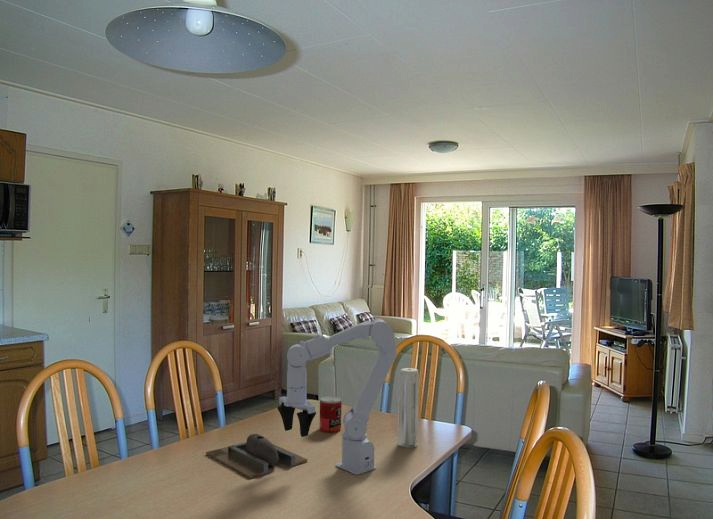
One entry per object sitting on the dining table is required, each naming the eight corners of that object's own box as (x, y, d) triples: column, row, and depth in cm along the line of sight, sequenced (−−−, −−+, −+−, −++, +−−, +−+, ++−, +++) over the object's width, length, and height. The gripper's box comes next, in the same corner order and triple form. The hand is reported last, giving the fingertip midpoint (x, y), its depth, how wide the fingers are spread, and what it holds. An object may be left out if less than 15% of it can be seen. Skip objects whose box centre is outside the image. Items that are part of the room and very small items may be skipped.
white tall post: (417, 442, 188) (418, 367, 188) (417, 448, 182) (418, 371, 182) (398, 441, 189) (399, 366, 189) (397, 447, 182) (398, 370, 182)
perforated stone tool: (284, 468, 163) (284, 444, 163) (268, 472, 160) (268, 447, 160) (259, 453, 175) (259, 431, 175) (244, 456, 172) (244, 434, 172)
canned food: (332, 434, 195) (332, 402, 195) (314, 429, 200) (315, 399, 200) (345, 429, 201) (346, 398, 201) (328, 425, 206) (329, 395, 206)
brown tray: (307, 461, 168) (307, 451, 168) (249, 478, 154) (250, 468, 154) (260, 441, 186) (261, 432, 186) (205, 454, 173) (206, 445, 173)
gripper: (270, 384, 166) (270, 430, 166) (301, 393, 155) (300, 441, 155) (290, 380, 171) (289, 425, 171) (320, 389, 160) (320, 436, 160)
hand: (296, 432), depth 163 cm, fingers open, 7 cm apart
